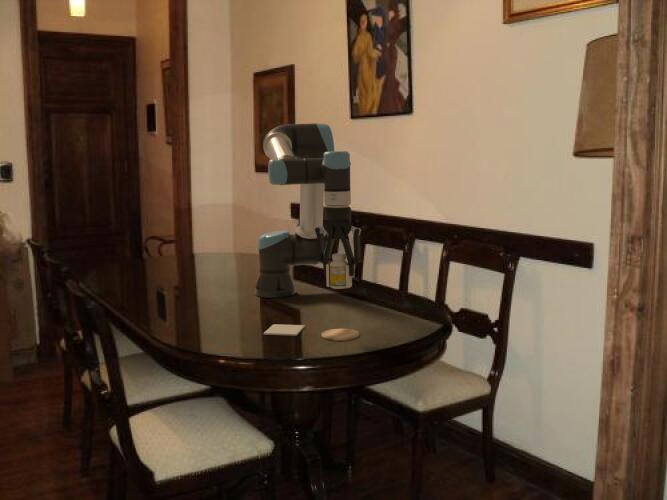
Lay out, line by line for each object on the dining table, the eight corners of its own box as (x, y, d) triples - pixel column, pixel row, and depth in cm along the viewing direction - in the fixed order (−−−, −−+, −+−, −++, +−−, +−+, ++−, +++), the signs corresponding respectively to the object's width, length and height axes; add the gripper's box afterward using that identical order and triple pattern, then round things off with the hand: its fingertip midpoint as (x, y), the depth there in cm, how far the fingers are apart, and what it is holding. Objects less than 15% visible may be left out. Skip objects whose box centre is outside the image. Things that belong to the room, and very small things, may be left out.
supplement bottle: (340, 289, 196) (339, 256, 194) (326, 287, 199) (325, 254, 198) (352, 286, 200) (351, 253, 199) (338, 284, 203) (337, 252, 202)
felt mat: (263, 334, 205) (263, 332, 204) (273, 325, 214) (273, 324, 214) (296, 335, 202) (296, 334, 202) (304, 326, 212) (304, 325, 212)
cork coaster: (315, 339, 199) (315, 337, 199) (329, 329, 209) (329, 327, 209) (351, 342, 195) (351, 340, 195) (364, 332, 205) (364, 330, 205)
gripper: (302, 206, 196) (304, 287, 199) (363, 207, 189) (365, 291, 193) (313, 204, 203) (315, 282, 206) (372, 205, 196) (373, 285, 200)
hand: (339, 286), depth 199 cm, fingers closed on supplement bottle, 5 cm apart
